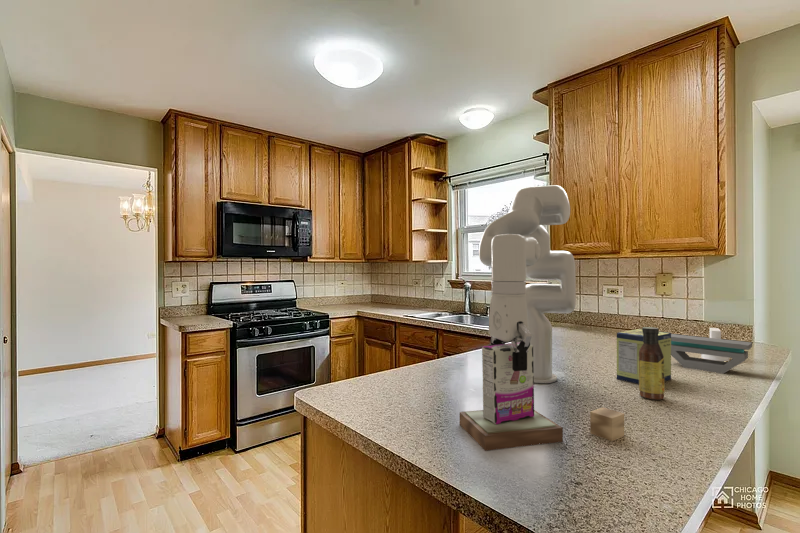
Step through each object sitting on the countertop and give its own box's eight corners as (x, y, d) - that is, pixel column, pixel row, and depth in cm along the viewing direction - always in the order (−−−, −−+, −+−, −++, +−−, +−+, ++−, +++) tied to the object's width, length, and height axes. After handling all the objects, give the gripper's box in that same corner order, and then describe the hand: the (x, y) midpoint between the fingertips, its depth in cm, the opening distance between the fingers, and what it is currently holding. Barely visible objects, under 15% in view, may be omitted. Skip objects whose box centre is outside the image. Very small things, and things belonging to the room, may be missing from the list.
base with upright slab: (730, 363, 158) (730, 331, 158) (701, 360, 163) (702, 329, 163) (727, 358, 166) (728, 328, 166) (700, 355, 171) (700, 327, 170)
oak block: (590, 433, 92) (590, 411, 92) (602, 428, 95) (602, 407, 95) (612, 441, 88) (612, 418, 88) (624, 436, 91) (624, 413, 91)
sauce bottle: (668, 401, 113) (668, 330, 113) (643, 400, 115) (643, 329, 115) (658, 394, 120) (658, 326, 120) (635, 393, 121) (635, 325, 121)
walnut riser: (459, 424, 97) (459, 410, 97) (527, 417, 101) (527, 404, 101) (485, 450, 84) (485, 434, 83) (562, 441, 88) (562, 426, 88)
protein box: (671, 379, 136) (671, 332, 136) (649, 387, 127) (649, 337, 127) (638, 372, 145) (639, 328, 144) (615, 379, 136) (615, 332, 136)
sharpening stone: (663, 364, 156) (663, 335, 156) (669, 361, 161) (669, 333, 161) (748, 377, 138) (748, 345, 137) (752, 373, 143) (752, 342, 143)
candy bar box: (519, 410, 97) (519, 341, 97) (535, 417, 93) (535, 345, 93) (481, 417, 93) (481, 345, 93) (495, 425, 88) (495, 349, 88)
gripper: (477, 287, 100) (477, 357, 100) (512, 292, 83) (512, 376, 83) (505, 287, 102) (505, 355, 102) (545, 291, 85) (545, 373, 85)
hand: (508, 364), depth 92 cm, fingers open, 9 cm apart
